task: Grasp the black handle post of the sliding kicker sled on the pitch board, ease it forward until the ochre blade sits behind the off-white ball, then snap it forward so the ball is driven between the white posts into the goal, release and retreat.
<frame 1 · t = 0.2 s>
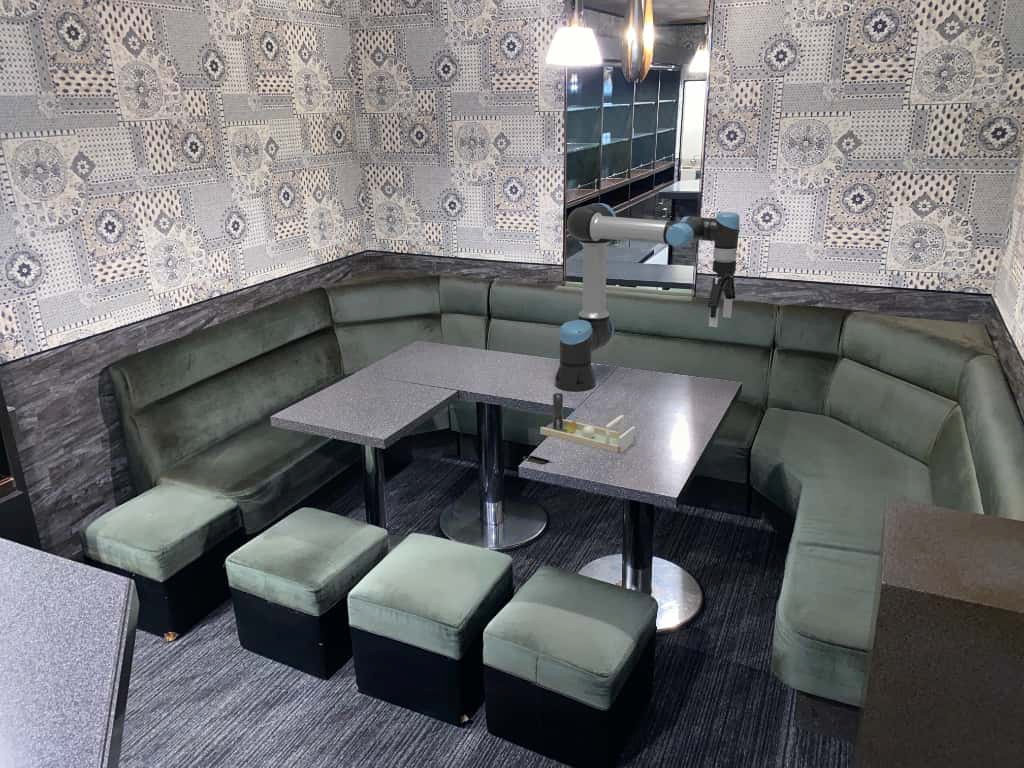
hand: (720, 321, 267), 28 cm above the table, fingers open, 13 cm apart
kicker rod: (559, 413, 246), point 7 cm above the table, slide at 0.0 cm
pitch: (586, 441, 244), on the table
ball: (588, 437, 243), point 1 cm above the table, touching pitch
phone: (545, 454, 237), on the table
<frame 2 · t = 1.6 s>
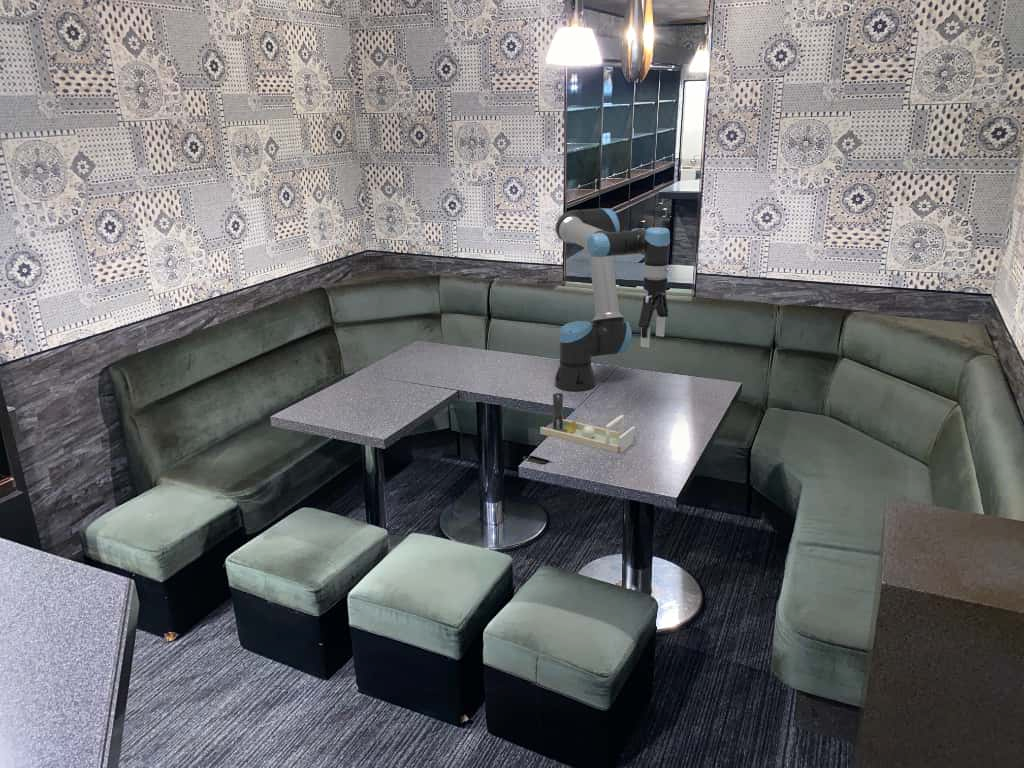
hand: (652, 341, 256), 25 cm above the table, fingers open, 13 cm apart
nothing on the table moved.
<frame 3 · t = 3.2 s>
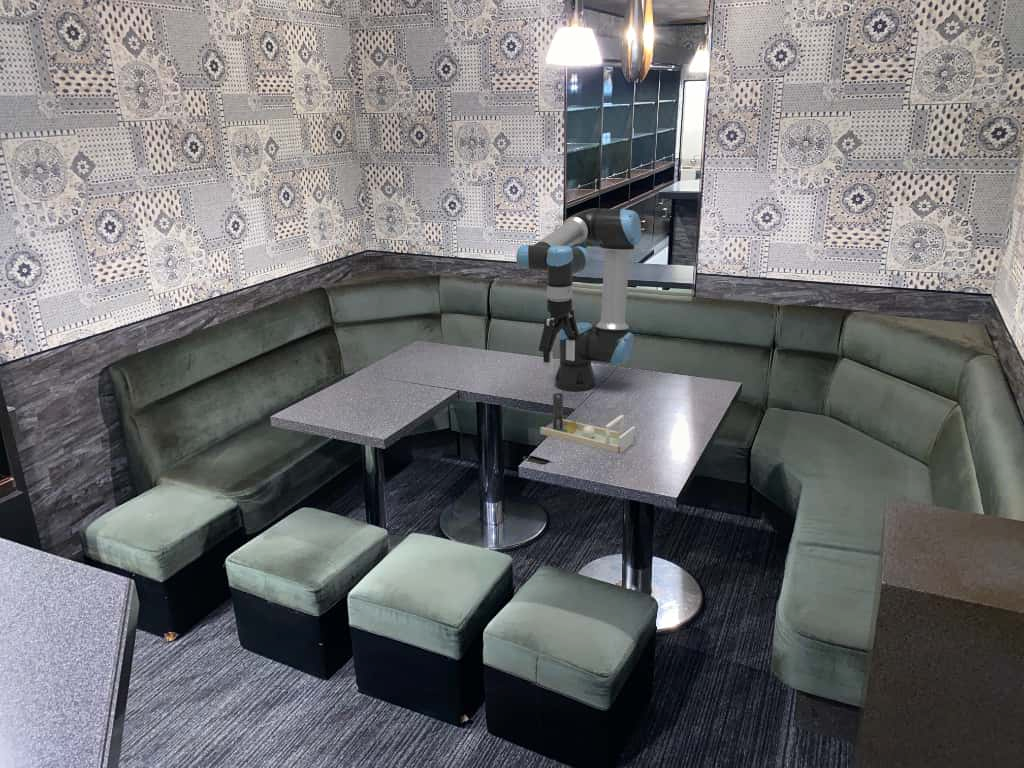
hand: (559, 366, 242), 23 cm above the table, fingers open, 13 cm apart
nothing on the table moved.
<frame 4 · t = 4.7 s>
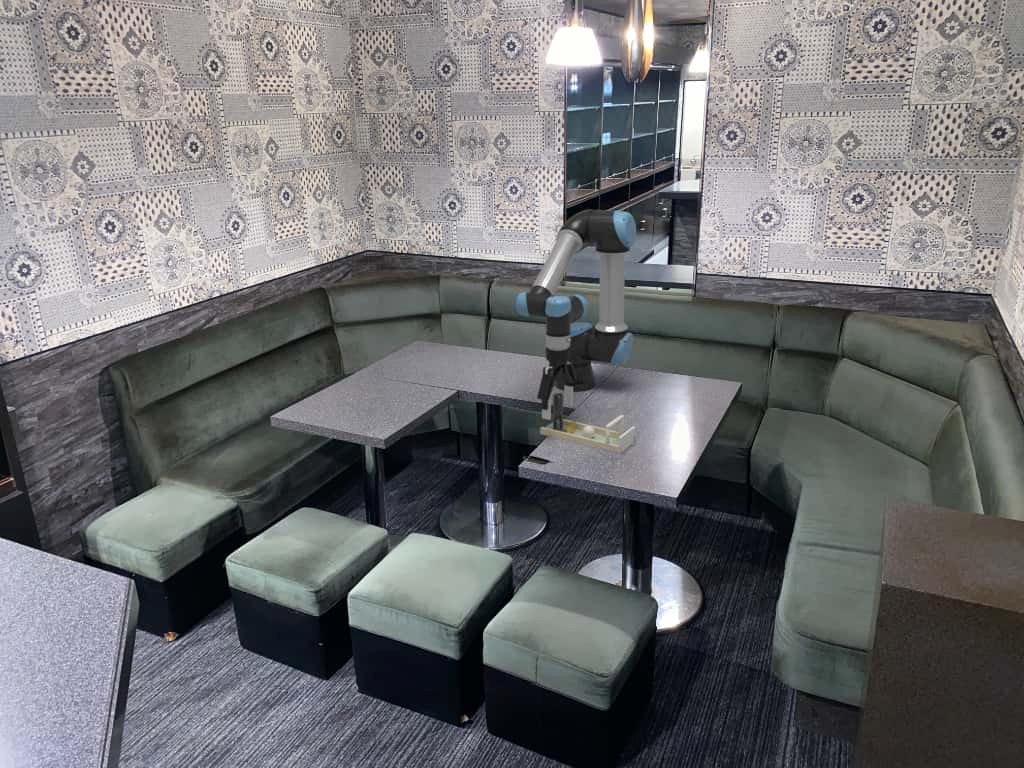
hand: (557, 411, 247), 8 cm above the table, fingers open, 13 cm apart
nothing on the table moved.
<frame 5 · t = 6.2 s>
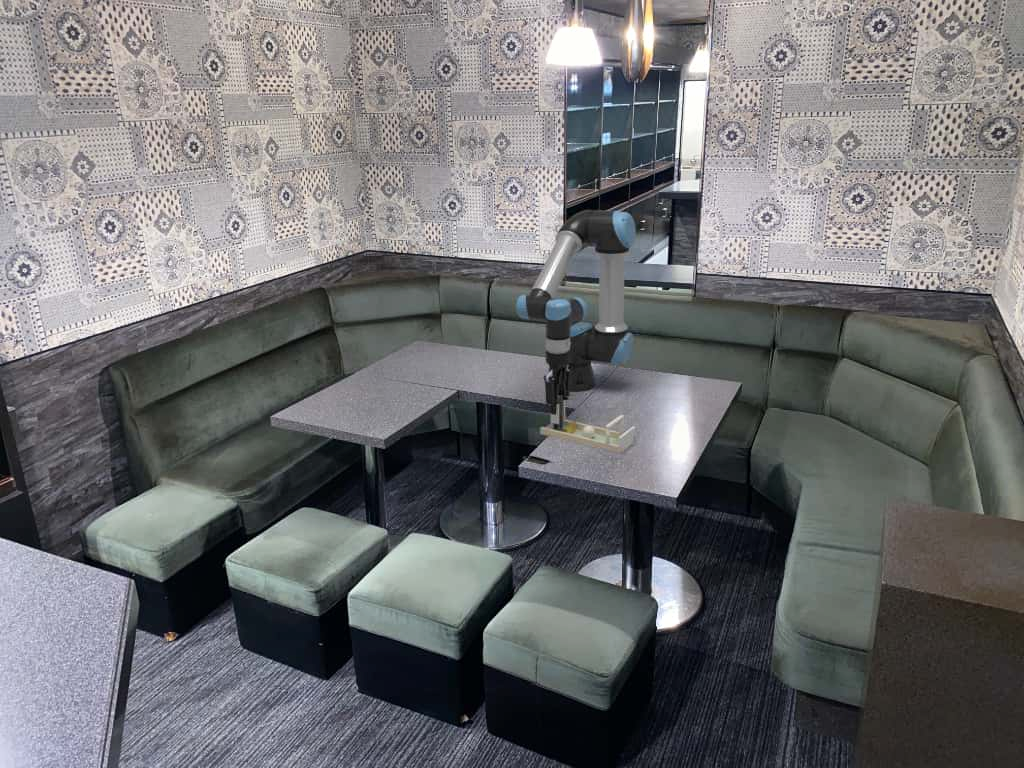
hand: (557, 420, 248), 5 cm above the table, fingers closed on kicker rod, 3 cm apart
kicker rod: (559, 413, 246), point 7 cm above the table, slide at 0.0 cm, touching gripper
everything else where it was.
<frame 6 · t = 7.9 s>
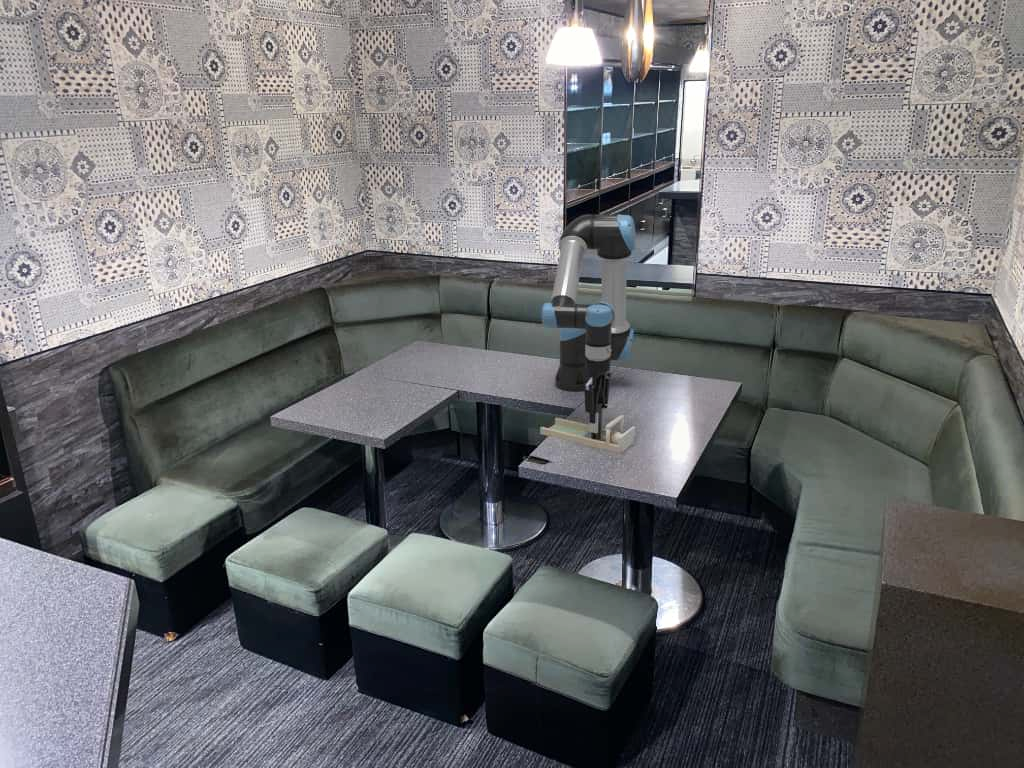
hand: (596, 429, 241), 5 cm above the table, fingers closed on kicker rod, 3 cm apart
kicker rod: (598, 421, 239), point 7 cm above the table, slide at 13.7 cm, touching gripper
ball: (623, 439, 236), point 3 cm above the table, tilted 95°, touching pitch
everything else where it was.
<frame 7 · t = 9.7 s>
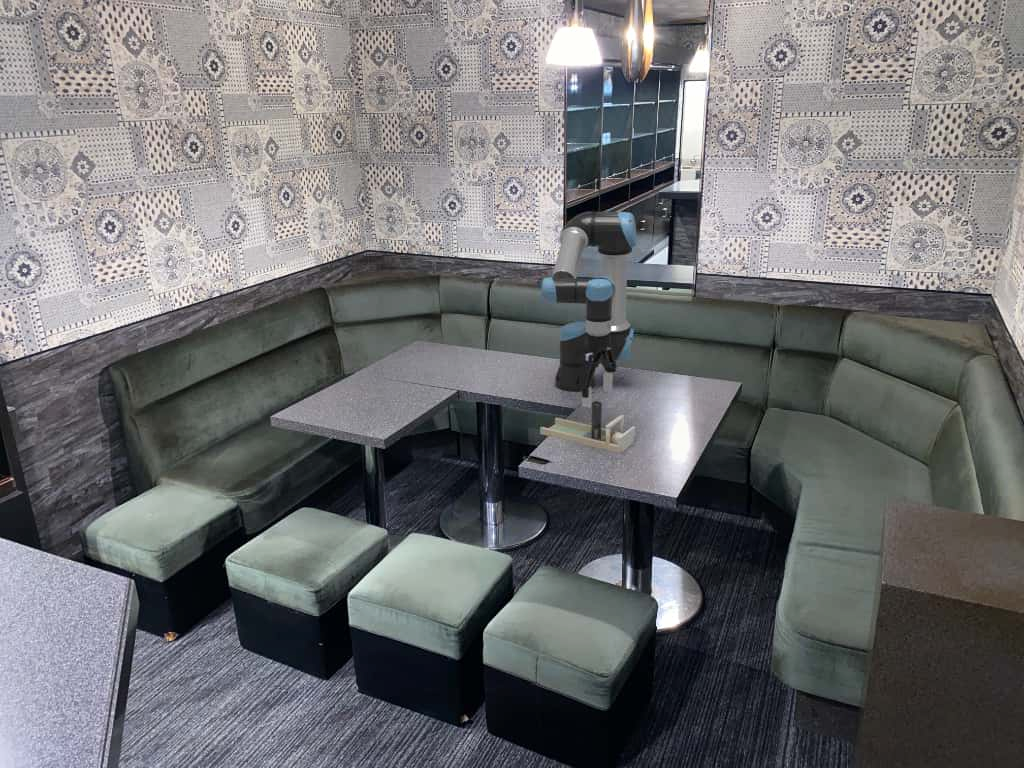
hand: (597, 399, 238), 14 cm above the table, fingers open, 13 cm apart
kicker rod: (598, 421, 239), point 7 cm above the table, slide at 13.7 cm
ball: (623, 440, 236), point 3 cm above the table, tilted 88°, touching pitch
everything else where it was.
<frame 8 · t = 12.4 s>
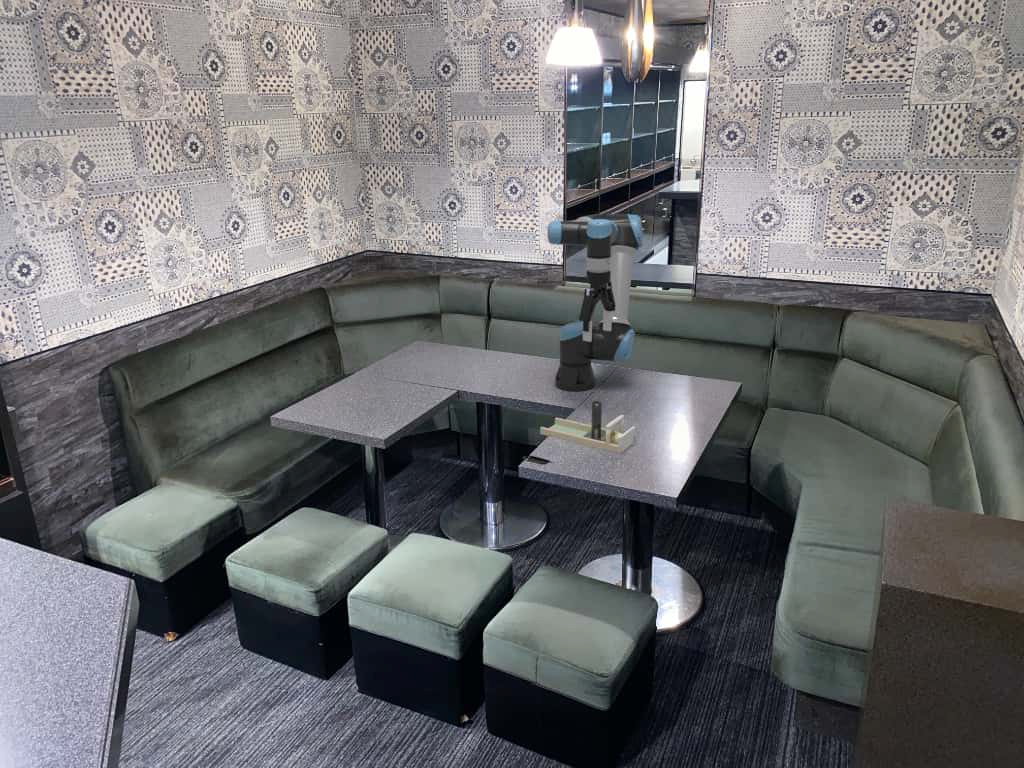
hand: (597, 335, 251), 29 cm above the table, fingers open, 13 cm apart
ball: (625, 442, 236), point 3 cm above the table, tilted 73°, touching pitch
everything else where it was.
at the end: ball inside the target area (1.4 cm from its centre), point 2.6 cm above the table; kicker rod slide at 13.7 cm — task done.
